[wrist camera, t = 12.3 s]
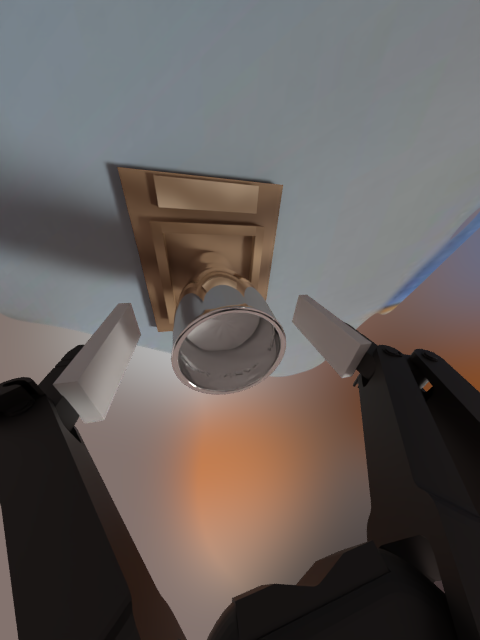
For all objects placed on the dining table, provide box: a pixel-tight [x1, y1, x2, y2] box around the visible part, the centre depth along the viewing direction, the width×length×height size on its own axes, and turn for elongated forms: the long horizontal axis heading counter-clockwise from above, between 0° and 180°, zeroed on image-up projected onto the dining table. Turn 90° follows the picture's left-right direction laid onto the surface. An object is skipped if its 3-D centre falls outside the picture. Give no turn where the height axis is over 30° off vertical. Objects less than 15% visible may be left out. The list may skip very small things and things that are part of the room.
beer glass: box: [171, 252, 286, 394], centre depth 16 cm, size 7×7×15 cm
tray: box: [117, 167, 283, 332], centre depth 21 cm, size 18×16×2 cm
